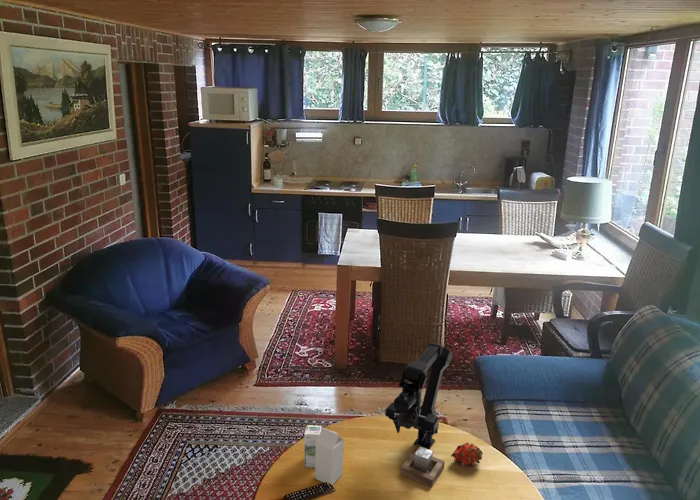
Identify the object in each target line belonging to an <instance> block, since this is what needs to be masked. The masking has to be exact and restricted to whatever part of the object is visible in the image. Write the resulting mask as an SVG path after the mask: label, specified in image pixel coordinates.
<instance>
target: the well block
mask: <svg viewBox="0 0 700 500" xmlns="http://www.w3.org/2000/svg"><path fill="white" fill-rule="evenodd" d="M417 450H418V449H417ZM417 450H416V449H414V450H413V451H412V452H411V453H410V455H409V456H408V457H407V459H406V460H405V462H404V463H403V464H402V466H400V475H401V476H403V477H406V478H408V479H410V480H412V481H414V482H418V483H420V484H422V485H425V486H428V487H430V488H432V487H433V486H434V485H435V482H436V481H437V480H438V478H439V477H440V475H441V473H442V472H443V470H444V469H445V462H446V461H445V460H443V459H440V458H439V457H438V458H437V457H436V456H433V457H432V469H431V471H430V473H429V474H426V473H423V472H421V471H418V470H416V469H414V456H415V453H416V452H417Z"/></svg>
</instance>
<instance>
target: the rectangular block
mask: <svg viewBox="0 0 700 500" xmlns="http://www.w3.org/2000/svg"><path fill="white" fill-rule="evenodd" d="M433 455H434V451H433V450H431V449H427V448H424V447H421V446H419V448H418V449H417V452H416V453H415V456H414V466H413V469H416V470H418V471H421V472H423V473H426V474H430V473H431V471H432V469H433V467H432V457H434V456H433Z"/></svg>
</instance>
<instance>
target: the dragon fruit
mask: <svg viewBox="0 0 700 500" xmlns="http://www.w3.org/2000/svg"><path fill="white" fill-rule="evenodd" d="M483 455H484V453H483V451H482V450H481V449H480V447H478V446H477V445H475V444H473V443H469V442H466V443H463V444H459V445H458V446H457V447H456V448H455V450H454V451H453V452H452V453H451V455H450V457H451V458H454V459H453V461H454V462H456V463H457V464H459V465H460V464H461V466H466V468H468V467H471V466H477V464H480V463H481V460H482V458H483Z"/></svg>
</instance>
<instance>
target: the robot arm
mask: <svg viewBox="0 0 700 500" xmlns="http://www.w3.org/2000/svg"><path fill="white" fill-rule="evenodd" d="M453 356H454V355H453V352H452V351H451V349H449V348H446V347H444V346H443V345H442V344H439V343H435V342H429V343H428V346H427V348H426V349H425V350H424V352H423V353H422V354H421V356H419V358H418V359H417V360H416V361H411V362H409V364H407V365H406V366H405V367H404V369H403V371H402V374H401V377H400V379H399V383H398V387H399V388H402V391H401V392H400V393H399V394H398V395H397V396H396V398H394V399H393V402H391V403H389V404H388V406H387V407H386V408H385V411H384V415H385V417H387V418H388V419H389V420H391V421H392V422H393V423H394V426H395V427H394V428H395V429H396V433H397V434H399V433H400V432H401V427H402V428H404V429H406V430H411V428H413V429H416V430H417V438H416V439H415V440H414V441H413V444H414V445H416V446H418V447H423V448H425V449H428V450H431V447H432V446H433V445H434V443H435V442H436V439H435V438H433V436H434V435H435V434H438V432H439V427H440V425H439V422H440V419H439V417H438V416H437V413H436V409H435V405H436V401H437V397H438V393H439V389H440V386H441V381H442V377H443V373H444V371H445V369H447V368H448V367H449V365H450V363H451V361H452V360H453ZM429 368H430V372H429V376H427V373H428V371H429ZM427 378H428V380H427ZM426 382H427V384H426ZM425 384H426V389H425V391H424V396H423V399H422V395H423V394H422V392H423V390H424V388H425ZM421 404H422V405H421Z"/></svg>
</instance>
